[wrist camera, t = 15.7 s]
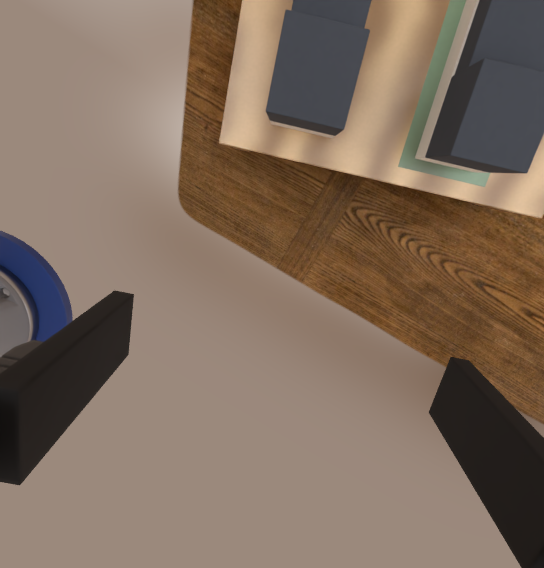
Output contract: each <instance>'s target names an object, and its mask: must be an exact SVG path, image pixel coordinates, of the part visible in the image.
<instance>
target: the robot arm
mask: <svg viewBox="0 0 544 568" xmlns="http://www.w3.org/2000/svg"><path fill="white" fill-rule="evenodd" d="M133 297H134V294H130V293H125V292H119V291H113V292H112V293H111V294H109V295H108V296H107V297H105V298H104V299H102V300H101V301H100V302H98V303H97V304H95V305H94V306H93V307H91V308H90V309H89V310H88V311H86V312H84V313H83V314H82V315H80V316H79V317H78V318H76V319H75V320H74V321H72V322H71V323H69V324H68V325H66V326H65V327H64V328H62V329H61V330H60V331H58V332H57V333H55V334H54V335H53V336H51V337H50V338H49V339H47V340H46V341H44V342H42V341H37V340H35V339H36V337H37V333H38V329H39V315H38V310H37V306H36V304H35V301H34V299H33V297H32V295H31V293H30V292H29V290H28V289H27V287H26V286H25V285H24V283H23V282H22V281H21V280H20V279H19V278H18V277H17V276H16V275H15V274H13V273H12V272H11V271H9V270H8V269H6V268H5V267H3V266H1V265H0V482H4V483H10V484H16V485H20V484H21V483H22V482H23V481H24V480H25V478H26V477H27V476H28V475H29V474H30V473H31V471H32V470H33V469H34V468H35V467H36V465H37V464H38V463H39V462H40V460H41V459H42V458H43V457H44V456H45V454H46V453H47V452H48V451H49V450H50V448H51V447H52V446H53V445H54V444H55V442H56V441H57V440H58V439H59V438H60V436H61V435H62V434H63V433H64V432H65V430H66V429H67V428H68V426H70V424H71V423H72V422H73V421H74V420H75V418H76V417H77V416H78V415H79V413H80V412H81V411H82V410H83V408H85V406H86V405H87V404H88V403H89V401H90V400H91V399H92V398H93V397H94V395H95V394H96V393H97V392H98V391H99V389H100V388H101V387H102V386H103V384H104V383H105V382H106V381H107V380H108V379H109V377H110V376H111V375H112V374H113V372H114V371H115V370H116V369H117V368H118V366H119V365H120V364H121V363H122V362H123V360H124V359H125V358H126V357H127V356H128V353H129V342H130V330H131V319H132V308H133ZM429 413H430V415H431V417H432V418H433V420H434V422H435V423H436V425H437V427H438V429H439V430H440V432H441V433H442V435H443V437H444V438H445V440H446V442H447V444H448V445H449V447H450V449H451V450H452V452H453V454H454V455H455V457H456V459H457V460H458V462H459V464H460V465H461V467H462V469H463V470H464V472H465V474H466V475H467V477H468V479H469V480H470V482H471V484H472V486H473V487H474V489H475V491H476V492H477V494H478V495H479V497H480V499H481V501H482V502H483V504H484V506H485V507H486V509H487V510H488V512H489V514H490V516H491V517H492V519H493V521H494V522H495V524H496V526H497V527H498V529H499V531H500V532H501V534H502V536H503V537H504V539H505V541H506V542H507V544H508V546H509V547H510V549H511V551H512V552H513V554H514V556H515V557H516V559H517V561H518V563H519V564H520V566H521V567H522V568H544V438H543V437H542V436H541V435H540V434H539V433H538V432H537V431H536V430H535V429H534V427H532V425H531V424H530V423H529V422H528V421H527V420H526V419H525V418H524V417H523V416H522V415H521V414H520V413H519V412H518V411H517V410H516V409H515V408H514V407H513V406H512V405H511V404H510V403H509V402H508V401H507V400H506V399H505V397H504V396H503V395H502V394H501V393H500V392H499V391H498V390H497V389H496V388H495V387H494V386H493V385H492V384H491V383H490V382H489V381H488V380H487V379H486V378H485V377H484V376H483V375H482V374H481V373H480V372H479V371H478V370H477V369H476V367H475V366H474V365H473V364H472V363H471V362H470V361H469V360H464V359H459V358H454V357H451V358H450V360H449V363H448V365H447V368H446V370H445V373H444V375H443V378H442V380H441V383H440V385H439V388H438V390H437V393H436V395H435V398H434V400H433V403H432V406H431V408H430V411H429Z"/></svg>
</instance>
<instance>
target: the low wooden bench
mask: <svg viewBox="0 0 544 568" xmlns="http://www.w3.org/2000/svg"><path fill="white" fill-rule="evenodd" d="M465 3H466V0H372V1H371V5H370V8H369V12H368V16H367V20H366V24H365V29H369V30H370V33H369V37H368V41H367V45H366V49H365V52H364V56H363V60H362V64H361V68H360V72H359V75H358V79H357V83H356V87H355V91H354V94H353V98H352V102H351V106H350V110H349V113H348V117H347V121H346V125H345V129H344V130H343V131H342V132H340V133H339V134H338V135H336V136H335V137H333V138H328V137H323V136H319V135H315V134H311V133H306V132H302V131H298V130H294V129H289V128H285V127H281V126H277V125H272V124H271V122H270V120H269V117H268V115H267V113H266V106H267V101H268V96H269V91H270V86H271V81H272V76H273V70H274V65H275V60H276V55H277V50H278V45H279V40H280V35H281V30H282V25H283V20H284V15H285V10H286V9H287V10H291V9H292V4H293V0H242V5H241V11H240V17H239V23H238V30H237V36H236V42H235V48H234V54H233V60H232V66H231V72H230V78H229V84H228V90H227V96H226V103H225V109H224V115H223V121H222V127H221V133H220V139H219V143H220V144H223V145H226V146H229V147H232V148H235V149H238V150H242V151H246V152H250V151H253V152H257V153H262V154H266V155H270V156H274V157H279V158H283V159H287V160H291V161H296V162H300V163H304V164H309V165H313V166H317V167H321V168H326V169H330V170H334V171H338V172H343V173H347V174H351V175H356V176H360V177H364V178H368V179H373V180H377V181H381V182H385V183H390V184H394V185H398V186H403V187H407V188H411V189H415V190H420V191H424V192H428V193H432V194H437V195H441V196H445V197H450V198H454V199H458V200H462V201H467V202H471V203H472V204H473V205H477V206H481V207H486V208H491V209H496V210H501V211H506V212H511V213H516V214H521V215H526V216H531V217H536V218H542V217H543V214H544V135H543V137H542V139H541V142H540V144H539V146H538V149H537V151H536V154H535V156H534V158H533V161H532V163H531V165H530V168H529V170H528V172H527V173H475V172H470V171H466V170H462V169H458V168H453V167H449V166H445V165H441V164H436V163H432V162H428V161H424V160H419V159H415V156H416V153H417V150H418V147H419V144H420V141H421V138H422V135H423V132H424V129H425V125H426V122H427V119H428V116H429V113H430V110H431V107H432V104H433V101H434V98H435V95H436V92H437V89H438V86H439V82H440V79H441V76H442V73H443V70H444V67H445V64H446V61H447V58H448V55H449V52H450V49H451V46H452V43H453V40H454V36H455V33H456V30H457V27H458V24H459V21H460V18H461V15H462V12H463V9H464V6H465Z"/></svg>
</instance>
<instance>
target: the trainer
mask: <svg viewBox="0 0 544 568" xmlns="http://www.w3.org/2000/svg"><path fill="white" fill-rule="evenodd" d="M543 135H544V0H466V3H465V6H464V9H463V12H462V15H461V18H460V21H459V24H458V27H457V30H456V33H455V36H454V40H453V43H452V46H451V49H450V52H449V55H448V58H447V61H446V64H445V67H444V70H443V73H442V76H441V79H440V82H439V86H438V89H437V92H436V95H435V98H434V101H433V104H432V107H431V110H430V113H429V116H428V119H427V122H426V125H425V129H424V132H423V135H422V138H421V141H420V144H419V147H418V150H417V153H416V156H415V159H419V160H424V161H428V162H432V163H436V164H441V165H445V166H449V167H453V168H458V169H462V170H466V171H470V172H475V173H527V172H528V170H529V168H530V165H531V163H532V161H533V158H534V156H535V154H536V151H537V149H538V146H539V144H540V142H541V139H542V137H543Z"/></svg>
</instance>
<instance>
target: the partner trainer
mask: <svg viewBox="0 0 544 568" xmlns="http://www.w3.org/2000/svg"><path fill="white" fill-rule="evenodd" d="M371 1H372V0H293V4H292V9H291V10H287V9H286V10H285V15H284V20H283V25H282V30H281V35H280V40H279V45H278V50H277V55H276V60H275V65H274V70H273V76H272V81H271V86H270V91H269V96H268V101H267V106H266V113H267V115H268V117H269V120H270V122H271V124H272V125H277V126H281V127H285V128H289V129H294V130H298V131H302V132H306V133H311V134H315V135H319V136H323V137H328V138H333V137H335V136H336V135H338V134H339V133H340V132H342V131H343V130H344V129H345V125H346V121H347V117H348V113H349V110H350V106H351V102H352V98H353V94H354V91H355V87H356V83H357V79H358V75H359V72H360V68H361V64H362V60H363V56H364V52H365V49H366V45H367V41H368V37H369V33H370V30H369V29H365V24H366V20H367V16H368V12H369V8H370V5H371Z"/></svg>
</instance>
